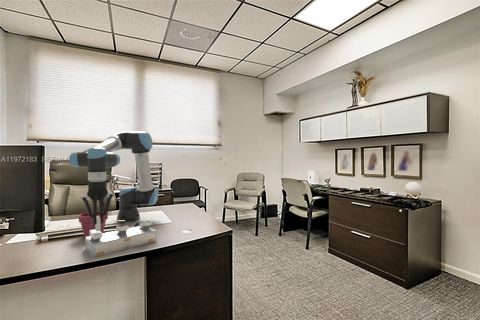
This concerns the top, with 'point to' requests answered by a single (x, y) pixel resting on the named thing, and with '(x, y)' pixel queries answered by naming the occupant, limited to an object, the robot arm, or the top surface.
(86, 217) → the plant pot
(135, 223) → the keypad
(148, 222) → the rocker
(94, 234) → the rocker
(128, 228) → the rocker
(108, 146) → the robot arm
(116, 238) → the console
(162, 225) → the top surface
